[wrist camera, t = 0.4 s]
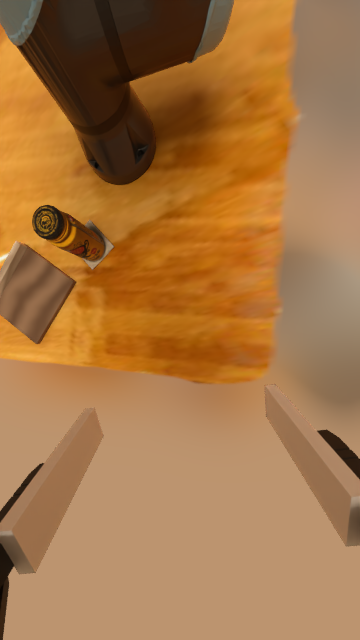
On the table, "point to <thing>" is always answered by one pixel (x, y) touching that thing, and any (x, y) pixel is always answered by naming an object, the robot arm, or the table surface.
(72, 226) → the condiment
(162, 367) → the table surface
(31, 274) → the dock board
